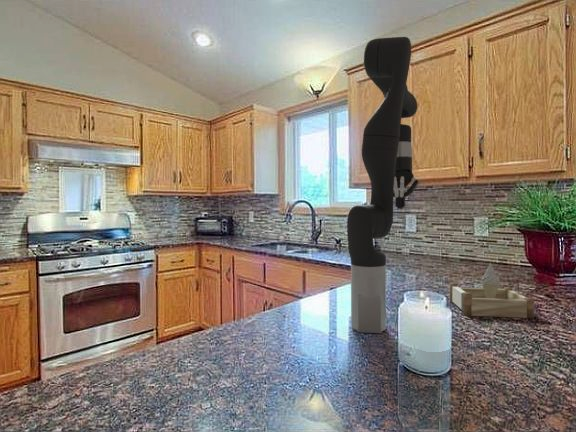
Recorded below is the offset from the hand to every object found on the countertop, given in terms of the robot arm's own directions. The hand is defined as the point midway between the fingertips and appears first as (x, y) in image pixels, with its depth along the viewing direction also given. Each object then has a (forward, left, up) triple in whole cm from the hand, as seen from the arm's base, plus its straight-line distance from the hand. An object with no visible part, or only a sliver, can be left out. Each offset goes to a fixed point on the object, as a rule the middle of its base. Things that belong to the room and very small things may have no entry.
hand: (400, 208), depth 119 cm
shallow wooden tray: (-3, -27, -32) cm, 42 cm away
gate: (-3, -18, -31) cm, 36 cm away
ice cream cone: (-3, -27, -32) cm, 42 cm away
